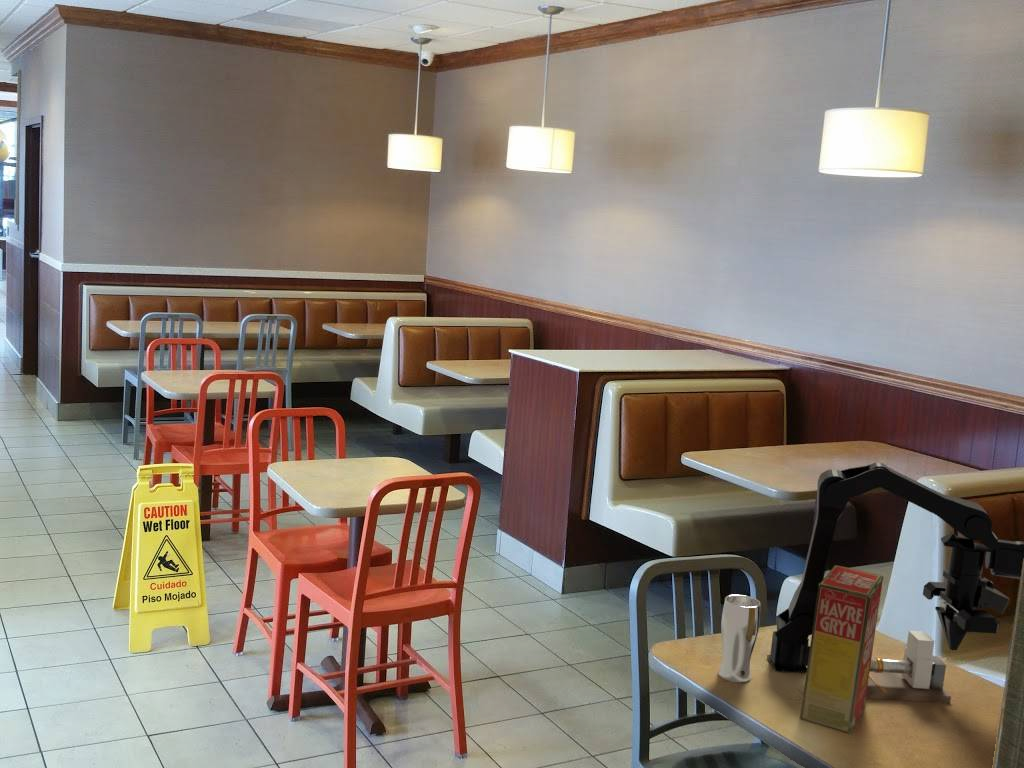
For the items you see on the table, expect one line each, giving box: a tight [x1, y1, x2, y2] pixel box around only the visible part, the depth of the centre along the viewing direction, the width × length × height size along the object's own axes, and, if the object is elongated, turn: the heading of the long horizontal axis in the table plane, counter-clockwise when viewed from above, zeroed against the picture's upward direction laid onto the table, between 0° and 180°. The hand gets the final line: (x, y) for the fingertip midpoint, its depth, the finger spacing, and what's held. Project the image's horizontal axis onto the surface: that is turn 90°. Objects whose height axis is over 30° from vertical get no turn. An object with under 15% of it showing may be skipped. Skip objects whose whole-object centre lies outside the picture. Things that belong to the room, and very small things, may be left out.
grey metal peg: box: [869, 655, 947, 690], centre depth 194 cm, size 17×4×5 cm, turn 92°
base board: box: [866, 672, 952, 703], centre depth 195 cm, size 18×9×1 cm, turn 92°
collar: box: [901, 630, 935, 689], centre depth 194 cm, size 3×6×9 cm, turn 2°
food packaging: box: [799, 564, 885, 735], centre depth 181 cm, size 13×9×25 cm
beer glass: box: [717, 594, 761, 684], centre depth 194 cm, size 7×7×15 cm
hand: (952, 649), depth 194 cm, fingers closed
